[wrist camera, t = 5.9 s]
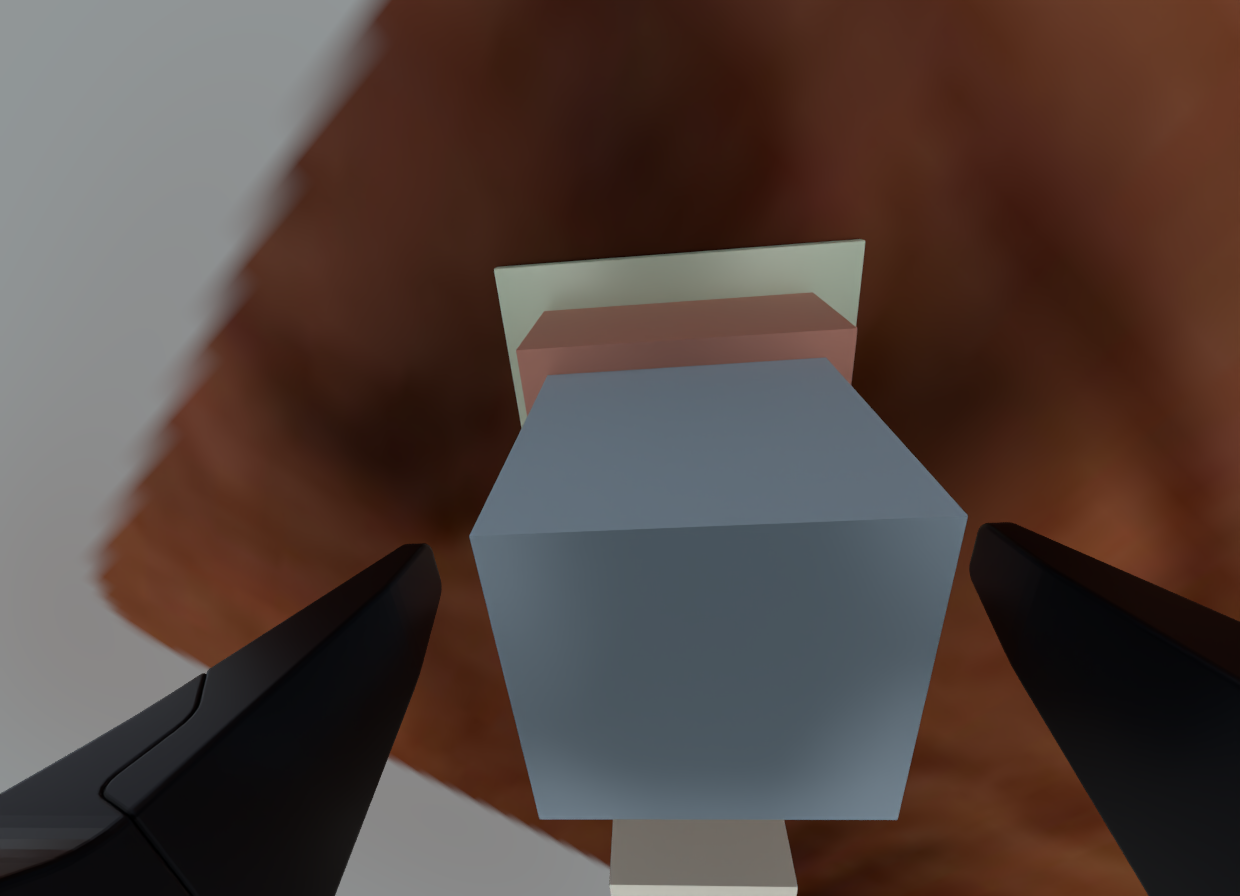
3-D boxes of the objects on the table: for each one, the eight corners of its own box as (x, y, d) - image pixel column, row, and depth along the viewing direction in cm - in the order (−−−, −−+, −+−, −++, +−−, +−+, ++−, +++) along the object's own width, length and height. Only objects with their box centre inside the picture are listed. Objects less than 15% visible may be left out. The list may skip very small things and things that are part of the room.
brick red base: (796, 520, 15) (827, 597, 12) (574, 528, 16) (558, 604, 13) (812, 292, 12) (858, 328, 10) (543, 310, 13) (515, 350, 10)
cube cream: (759, 807, 22) (787, 975, 17) (629, 807, 22) (623, 971, 17) (763, 719, 19) (797, 887, 15) (618, 721, 20) (609, 885, 15)
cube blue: (807, 579, 12) (897, 820, 8) (578, 586, 13) (539, 818, 8) (825, 357, 10) (968, 516, 5) (547, 375, 10) (469, 535, 6)
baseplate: (828, 542, 16) (831, 548, 15) (546, 551, 16) (544, 558, 16) (860, 238, 12) (865, 240, 12) (497, 267, 13) (494, 268, 12)
